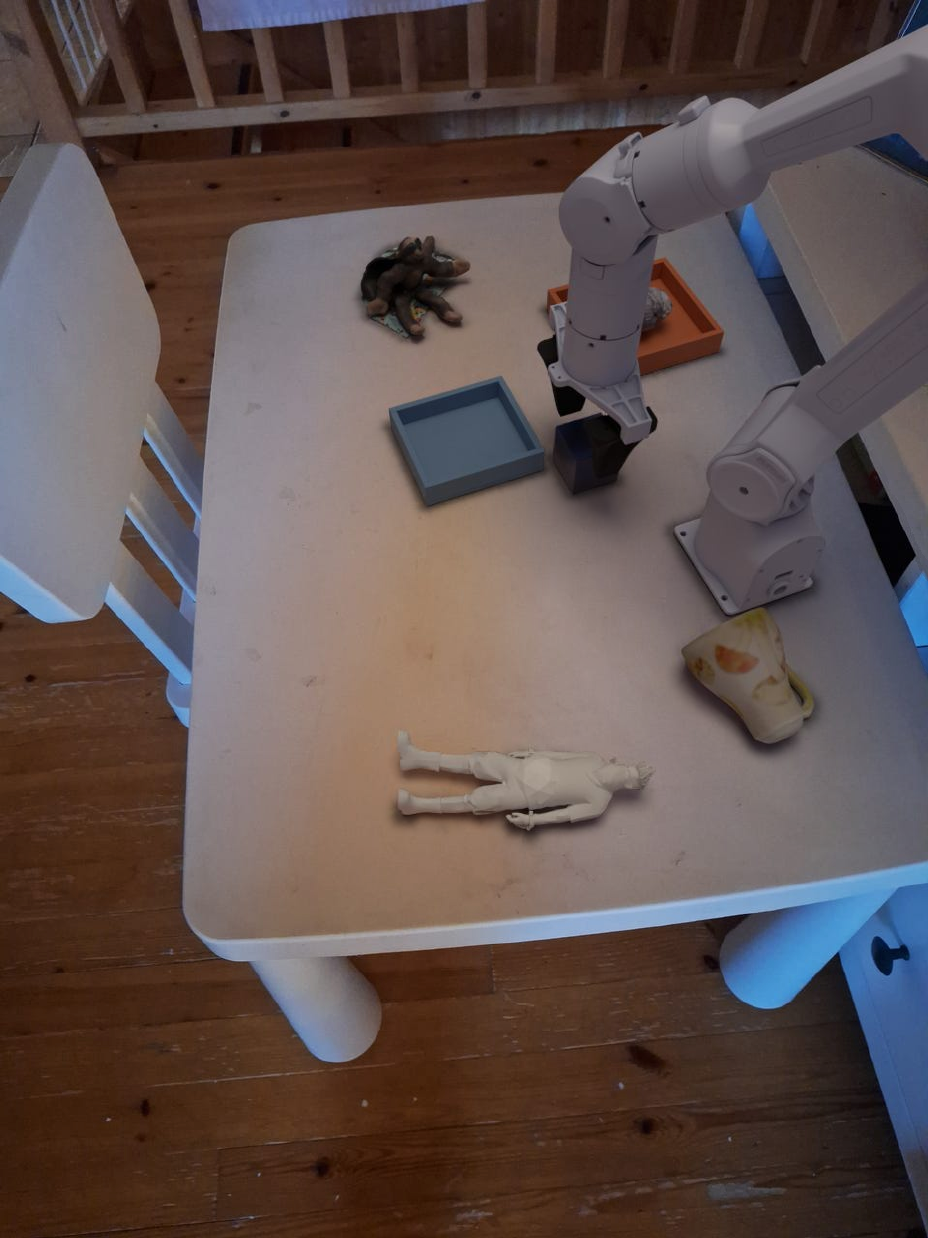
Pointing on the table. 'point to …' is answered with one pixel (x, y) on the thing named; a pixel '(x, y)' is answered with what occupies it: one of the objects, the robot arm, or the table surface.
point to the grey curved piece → (656, 308)
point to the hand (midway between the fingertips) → (587, 441)
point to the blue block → (577, 456)
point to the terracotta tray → (669, 323)
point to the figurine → (524, 783)
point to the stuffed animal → (410, 285)
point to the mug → (751, 674)
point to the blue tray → (466, 440)
